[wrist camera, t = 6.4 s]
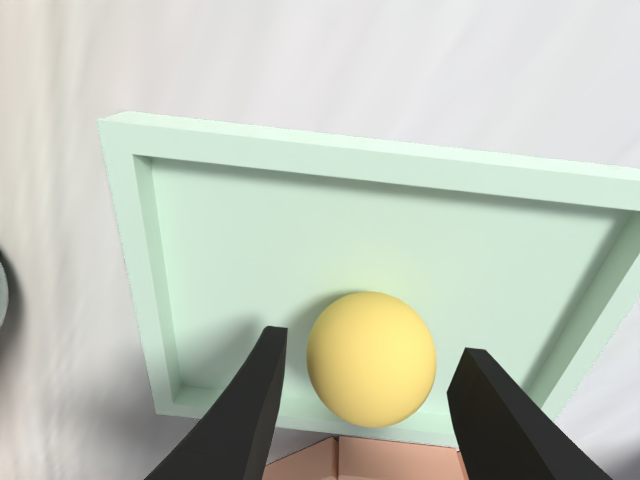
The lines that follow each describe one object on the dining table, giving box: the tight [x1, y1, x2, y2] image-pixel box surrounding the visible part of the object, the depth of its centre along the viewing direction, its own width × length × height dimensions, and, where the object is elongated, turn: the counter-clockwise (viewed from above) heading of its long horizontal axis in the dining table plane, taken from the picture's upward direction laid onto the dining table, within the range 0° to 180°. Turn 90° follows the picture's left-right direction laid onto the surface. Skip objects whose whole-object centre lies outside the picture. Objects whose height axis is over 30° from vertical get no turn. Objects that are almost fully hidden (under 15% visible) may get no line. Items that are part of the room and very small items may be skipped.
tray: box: [96, 111, 640, 447], centre depth 13 cm, size 16×12×2 cm
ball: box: [306, 291, 437, 428], centre depth 11 cm, size 4×4×4 cm
